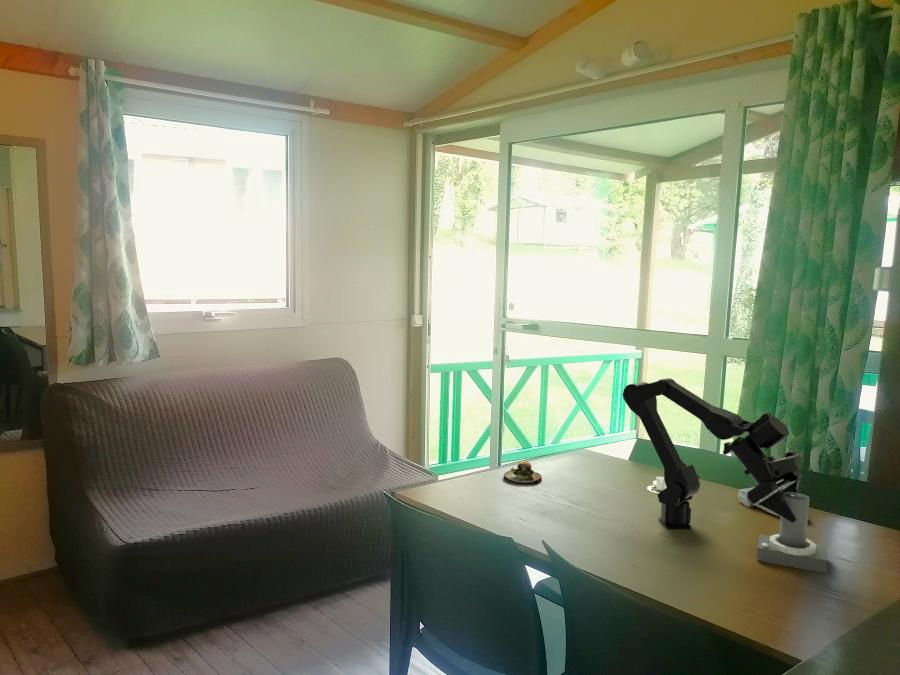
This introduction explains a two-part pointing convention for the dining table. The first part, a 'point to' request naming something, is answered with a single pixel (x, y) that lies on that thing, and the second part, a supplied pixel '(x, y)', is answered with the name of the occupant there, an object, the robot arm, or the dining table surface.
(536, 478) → the brown round piece
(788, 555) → the grey rectangular block
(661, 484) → the teacup and saucer
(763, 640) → the dining table surface
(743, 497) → the handheld device
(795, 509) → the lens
